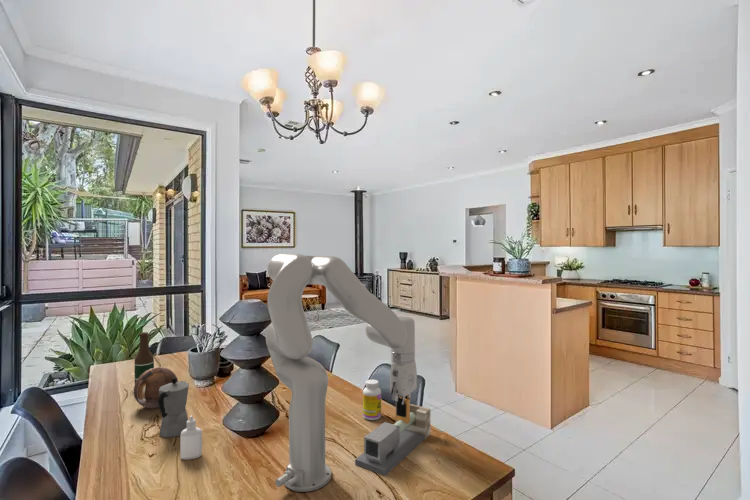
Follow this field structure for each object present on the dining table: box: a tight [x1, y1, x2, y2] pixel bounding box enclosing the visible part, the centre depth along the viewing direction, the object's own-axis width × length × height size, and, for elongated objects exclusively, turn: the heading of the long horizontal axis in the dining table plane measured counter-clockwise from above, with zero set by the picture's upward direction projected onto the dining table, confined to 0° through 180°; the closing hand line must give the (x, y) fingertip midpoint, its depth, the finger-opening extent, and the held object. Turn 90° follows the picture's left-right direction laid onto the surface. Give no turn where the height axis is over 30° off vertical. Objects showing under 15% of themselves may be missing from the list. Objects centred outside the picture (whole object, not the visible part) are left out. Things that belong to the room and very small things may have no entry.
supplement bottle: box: [362, 379, 382, 421], centre depth 139 cm, size 7×7×13 cm
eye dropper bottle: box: [179, 415, 203, 461], centre depth 113 cm, size 4×6×12 cm
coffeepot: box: [158, 377, 190, 439], centre depth 128 cm, size 15×9×18 cm, turn 0°
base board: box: [354, 429, 424, 477], centre depth 117 cm, size 25×10×2 cm, turn 147°
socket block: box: [395, 403, 432, 441], centre depth 127 cm, size 4×11×8 cm, turn 57°
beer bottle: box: [134, 331, 155, 384], centre depth 170 cm, size 8×8×24 cm
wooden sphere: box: [133, 366, 179, 409], centre depth 149 cm, size 15×15×15 cm
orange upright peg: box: [393, 396, 416, 433], centre depth 120 cm, size 16×4×10 cm, turn 147°
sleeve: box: [363, 421, 400, 464], centre depth 112 cm, size 11×5×7 cm, turn 147°
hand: (403, 414), depth 122 cm, fingers closed on orange upright peg
